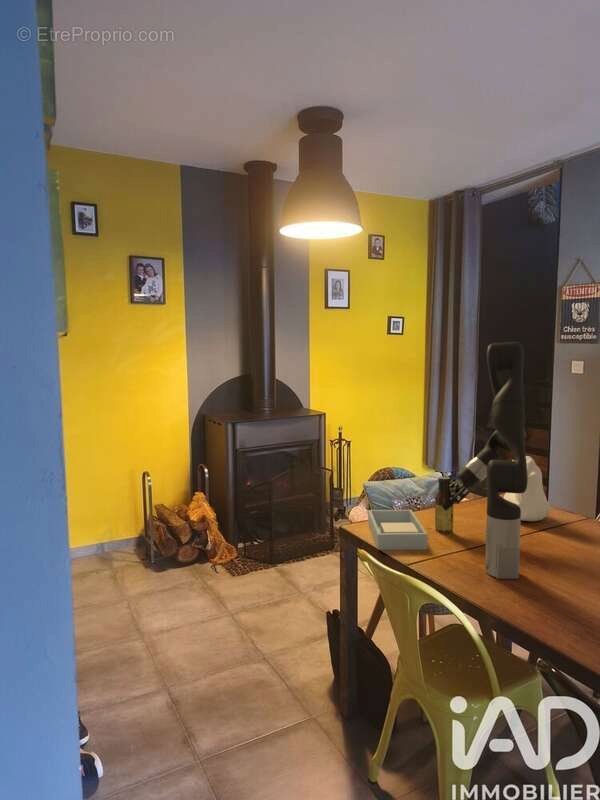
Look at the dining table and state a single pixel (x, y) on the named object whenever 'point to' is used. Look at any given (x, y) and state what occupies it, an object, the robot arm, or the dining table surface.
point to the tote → (396, 539)
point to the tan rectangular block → (398, 528)
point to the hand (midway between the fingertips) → (440, 504)
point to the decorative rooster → (531, 495)
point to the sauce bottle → (441, 515)
